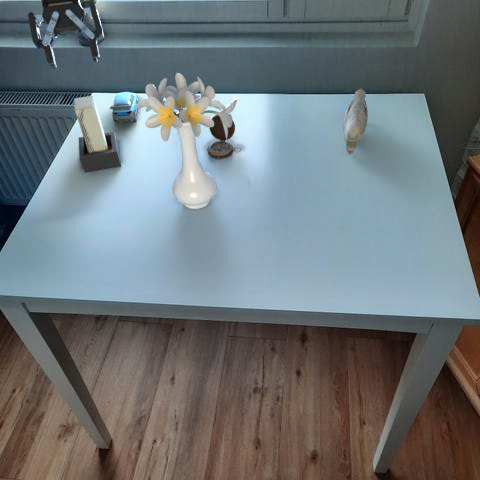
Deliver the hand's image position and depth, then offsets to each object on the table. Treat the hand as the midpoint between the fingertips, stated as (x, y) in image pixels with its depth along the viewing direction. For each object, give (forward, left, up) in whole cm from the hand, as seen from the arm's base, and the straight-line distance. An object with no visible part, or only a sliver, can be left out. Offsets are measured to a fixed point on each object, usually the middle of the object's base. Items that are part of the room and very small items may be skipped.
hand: (75, 64), depth 99 cm
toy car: (+7, +14, -20) cm, 26 cm away
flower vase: (+20, -25, -20) cm, 38 cm away
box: (0, -4, -19) cm, 20 cm away
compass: (+29, -9, -20) cm, 36 cm away
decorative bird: (+60, -12, -20) cm, 64 cm away
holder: (0, -4, -20) cm, 21 cm away
